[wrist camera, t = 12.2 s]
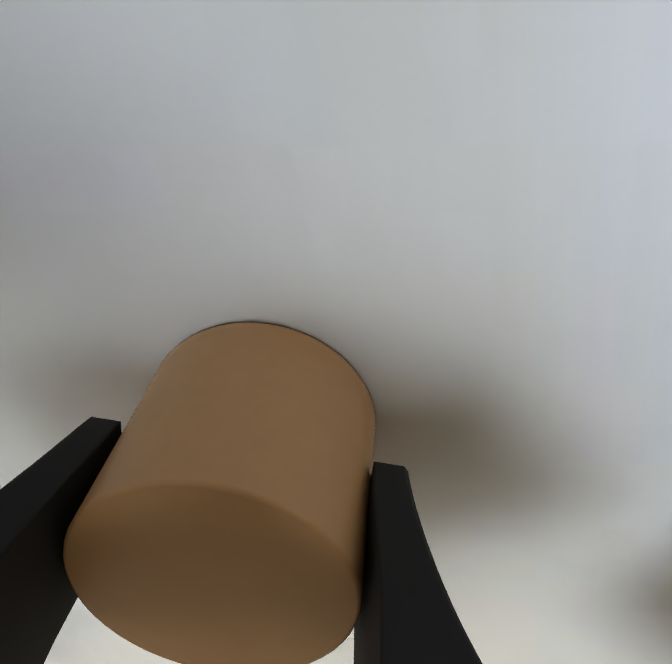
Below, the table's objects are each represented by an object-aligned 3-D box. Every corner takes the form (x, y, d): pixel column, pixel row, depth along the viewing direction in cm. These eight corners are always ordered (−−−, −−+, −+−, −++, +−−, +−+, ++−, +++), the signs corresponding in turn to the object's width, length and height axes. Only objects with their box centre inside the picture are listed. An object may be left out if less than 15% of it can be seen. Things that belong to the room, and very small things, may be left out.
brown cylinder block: (377, 500, 16) (365, 685, 12) (175, 490, 16) (102, 664, 13) (374, 322, 13) (356, 490, 9) (131, 318, 14) (20, 474, 10)
